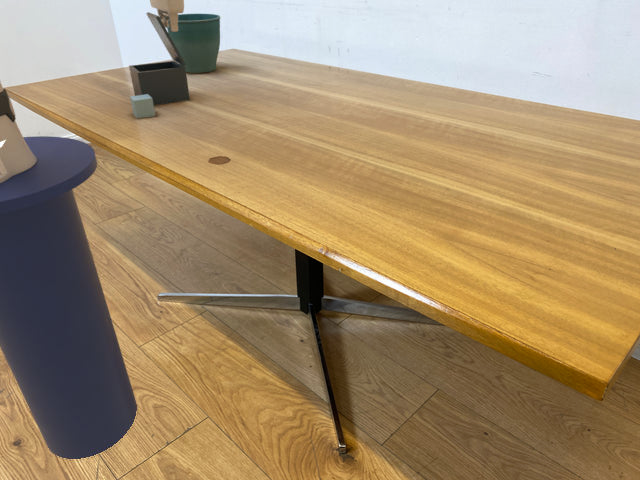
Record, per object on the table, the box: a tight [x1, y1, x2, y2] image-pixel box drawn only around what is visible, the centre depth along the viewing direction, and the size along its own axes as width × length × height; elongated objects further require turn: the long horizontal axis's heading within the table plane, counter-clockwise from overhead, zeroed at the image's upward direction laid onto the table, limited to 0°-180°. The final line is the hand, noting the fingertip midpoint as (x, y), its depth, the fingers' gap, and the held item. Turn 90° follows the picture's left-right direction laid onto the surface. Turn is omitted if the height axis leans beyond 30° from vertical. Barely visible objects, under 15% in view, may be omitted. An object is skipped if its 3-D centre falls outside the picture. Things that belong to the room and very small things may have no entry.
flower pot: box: [166, 13, 221, 74], centre depth 164 cm, size 18×18×17 cm
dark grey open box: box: [128, 60, 191, 106], centre depth 134 cm, size 13×11×9 cm
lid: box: [145, 11, 186, 66], centre depth 130 cm, size 13×11×5 cm
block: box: [129, 94, 156, 119], centre depth 122 cm, size 4×4×4 cm
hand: (169, 29), depth 129 cm, fingers open, 7 cm apart
